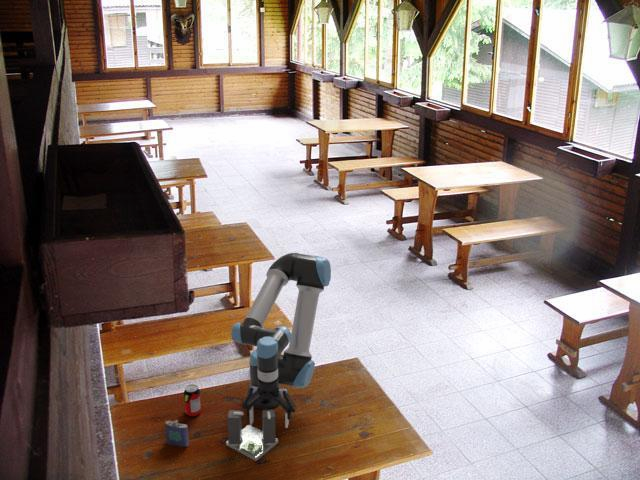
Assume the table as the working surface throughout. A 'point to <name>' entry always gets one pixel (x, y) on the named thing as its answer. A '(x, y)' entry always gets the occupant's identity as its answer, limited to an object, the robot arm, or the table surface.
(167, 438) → the flask
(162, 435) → the table surface
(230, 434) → the grey upright post
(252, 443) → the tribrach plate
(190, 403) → the beverage can
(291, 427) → the table surface
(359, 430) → the table surface
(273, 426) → the grey tall block
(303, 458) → the table surface
